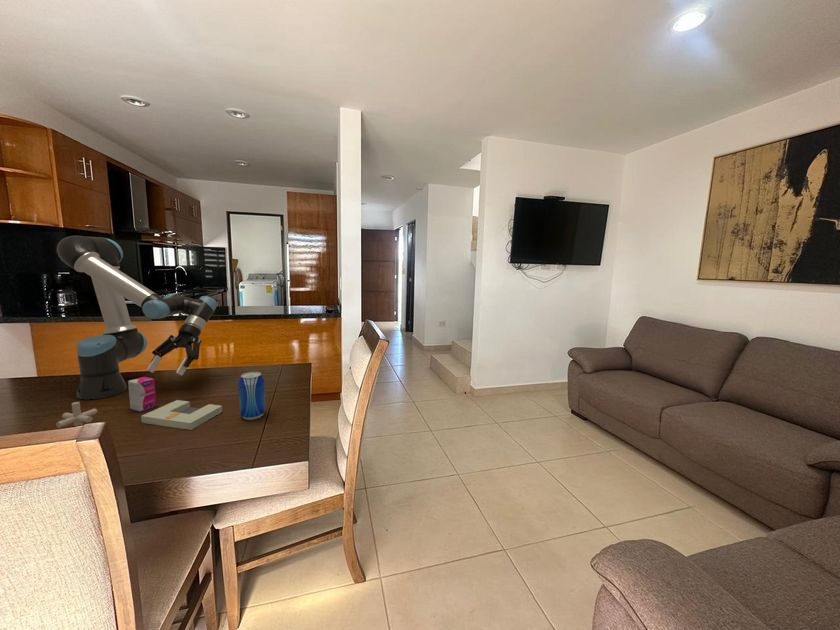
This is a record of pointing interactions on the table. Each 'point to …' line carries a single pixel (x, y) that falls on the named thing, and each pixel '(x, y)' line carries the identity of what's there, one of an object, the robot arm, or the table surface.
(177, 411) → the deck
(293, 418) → the table surface
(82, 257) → the robot arm
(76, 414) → the pipe connector
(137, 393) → the supplement box
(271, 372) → the table surface
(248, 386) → the beer can
